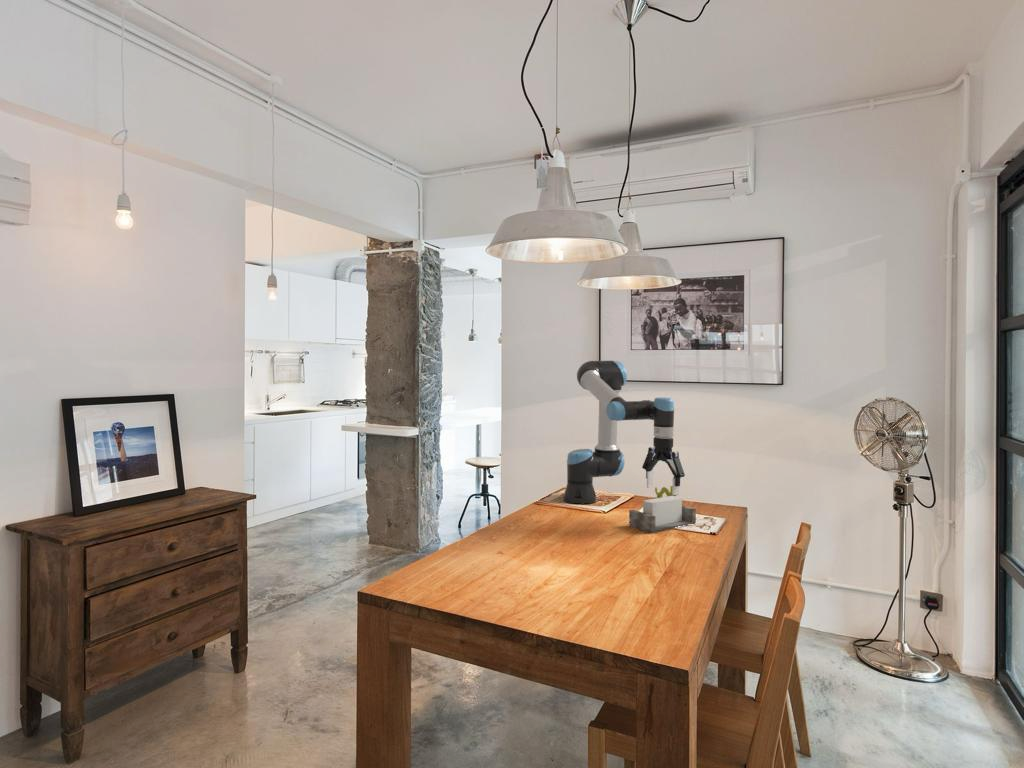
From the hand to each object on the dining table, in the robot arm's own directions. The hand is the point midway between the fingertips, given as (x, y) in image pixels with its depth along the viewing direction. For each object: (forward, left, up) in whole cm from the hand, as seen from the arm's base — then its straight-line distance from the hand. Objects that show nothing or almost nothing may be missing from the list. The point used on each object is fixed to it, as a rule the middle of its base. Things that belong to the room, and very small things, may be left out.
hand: (662, 490), depth 235 cm
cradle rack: (0, 0, -14) cm, 14 cm away
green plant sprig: (-22, +24, -14) cm, 35 cm away
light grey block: (0, 0, -12) cm, 12 cm away
